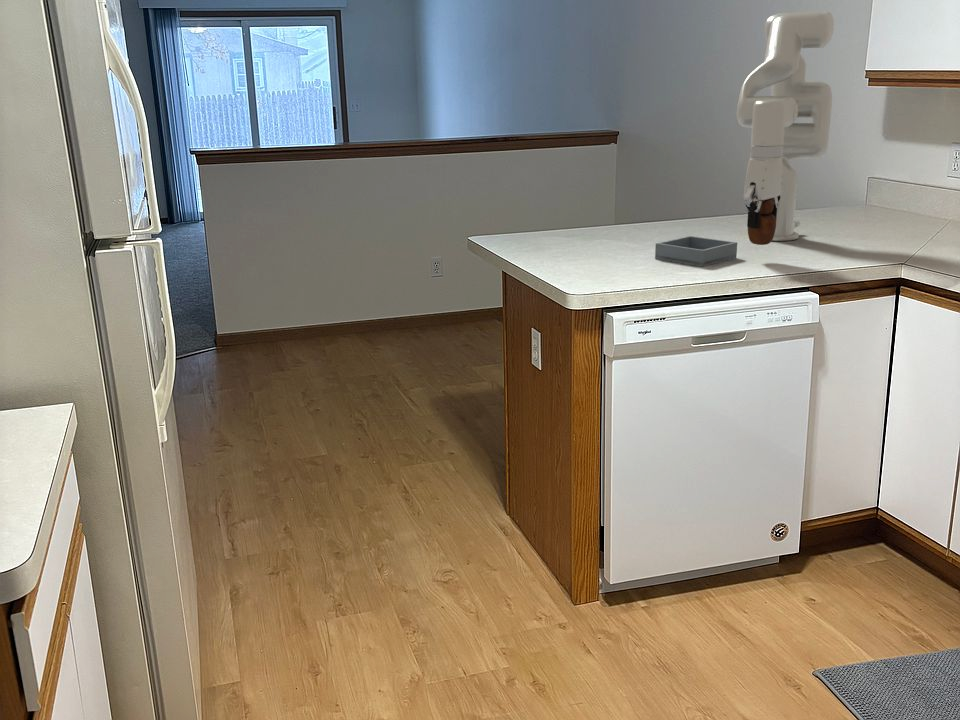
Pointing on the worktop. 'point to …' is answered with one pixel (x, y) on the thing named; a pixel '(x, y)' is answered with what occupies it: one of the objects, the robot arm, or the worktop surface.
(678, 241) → the slate tray
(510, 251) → the worktop surface
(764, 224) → the wooden figurine
